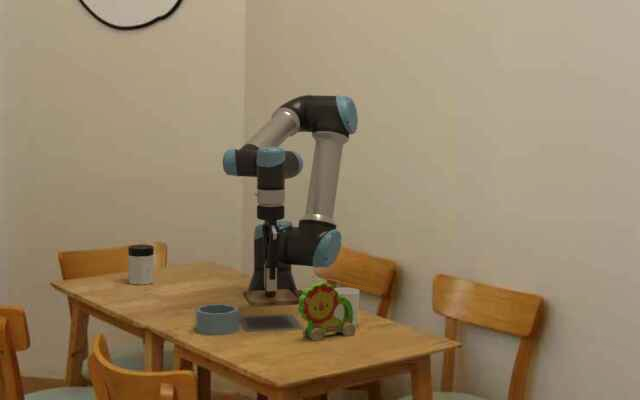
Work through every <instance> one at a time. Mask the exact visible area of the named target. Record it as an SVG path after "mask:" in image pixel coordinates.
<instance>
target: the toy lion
mask: <svg viewBox="0 0 640 400" xmlns="http://www.w3.org/2000/svg"><path fill="white" fill-rule="evenodd" d="M298 300H299V301H298V306H297V310H298V311H297V312H298V313H299V314H301V318H302V320H304V321H306V322H307V325H305V326H304V327H303V328H304V329H302V336H303V337H304V338H306V339H308V338H309V339H310V340H311V341H312V342H321V341H323V340H324V338H325V335H326V334H328V333H338V334H342V335H343V336H344V337H351V336H354V335H355V333H356V328H357V327H356V328H355V326H354V325H353V324H352V322H353V309H352V305H351V303H350V302H349V300H347V299H346V298H344V297H341V296H339V295H338V292H337V291H335V287H334V285H331V284H328V283H326V282H325V281H318V282H316V283H311V284H310V285H308V287H306V288H304V289H303V290H302V293H301V295H300V296H299V298H298ZM339 304H343V306H344V318H343V320H340V319H338V318H337V317H335V316H334V311H335V309H336V307H337V306H338V305H339Z"/></svg>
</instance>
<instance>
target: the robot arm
mask: <svg viewBox="0 0 640 400" xmlns="http://www.w3.org/2000/svg"><path fill="white" fill-rule="evenodd" d="M358 120H359V119H358V111H357V106H356V104H355V101H354V100H353V99H352V98H351V97H350V96H344V95H343V96H342V95H338V94H336V95H312V94H306V95H300V96H297V97H294V98H292V99H290V100H288V101H287V102H285V103H283V104H281V105H280V106H279V107H278V108H276V109H275V111H273V113H272V115H271V118H270V120H269V121H268V122H266V124H264V125H263V127H262V128H260V129H259V130H258V131H257V132H256V133H255V134H254V135H253V136H252V137H251V138H250V139H249V140H248V141H246V142H245V143H244V145H242V147H240V148H239V149H236V148H233V149H228V150H226V151H225V152H224V154H223V157H222V168H223V171H224V173H225V174H226V175H227V176H232V177H236V178H237V177H243V178H244V177H248V178H249V177H251V178H256V181H257V182H256V191H257V192H255V193H254V196H255V197H256V203H257V204H258V205H257V206H256V218H257V220H260V221H263V222H264V223H260V224H257V225H256V226H255V228H254V233H253V235H254V237H253V274H252V277H251V279H250V282H249V286H248V290H247V291H259V290H265V268H267V291H277V290H281V289H289V290H290V291H291V292H292V293H293V294H294V296H295V297H296V298H297V296H298V290H297V285H296V281H295V279H294V276H293V272H292V265H293V266H302V267H303V266H304V267H314V268H330V267H331V266H333V265H334V264H335V262H336V261H337V259H338V257H339V255H340V251H341V248H342V234H341V232H340V230H338V229H337V227H338V225H337V224H336V222H335V221H334V219H333V218H334V213H335V212H334V211H335V204H336V198H337V192H338V191H337V190H338V185H339V184H338V183H339V177H340V169H341V160H342V153H343V149H344V145H345V144H346V143H348V142H349V139H350V135H353V134H355V133H356V132H357V129H358V123H359V122H358ZM297 133H311V137H312V139H314V141H315V142H314V150H313V151H314V153H313V159H312V163H311V164H312V165H311V172H310V178H309V179H310V180H309V184H308V190H307V191H308V194H307V199H306V205H305V206H306V207H305V213H304V216H303V217H301V218H299V220H298V226H294V225H293V223H292V221H290V220H284V219H285V217H286V216H285V214H286V213H285V205H284V204H285V203H286V202H285V199H286V196H285V195H286V192H285V191H286V188H285V187H286V186H285V185H286V184H285V180H287V179H293V178H295V177H297V176H298V175H299V174H300V173H301V172H302V171H303V168H304V160H303V158H302V156H301V155H300V153H298V152H297V151H295V150H294V151H293V150H285V149H284V148H283V147H281V145H282V144H283V143H284V142H285V141H286V140H287V139H288V138H289V137H293V136H295V135H296V134H297ZM265 259H267V260H268V265H267V266H265Z"/></svg>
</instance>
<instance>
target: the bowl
mask: <svg viewBox="0 0 640 400" xmlns="http://www.w3.org/2000/svg"><path fill="white" fill-rule="evenodd" d="M239 317H240V311H239V308H238V307H237V306H236V305H231V304H224V303H218V304H217V303H215V304H214V303H212V304H209V303H208V304H205V305H201V306H198V307H195V331H196V332H197V333H198V334H203V335H208V336H218V335H219V336H221V335H230V334H233V333H236V332H238V331H239V330H240V329H239V328H240V327H239V326H240V322H239Z"/></svg>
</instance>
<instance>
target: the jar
mask: <svg viewBox="0 0 640 400" xmlns="http://www.w3.org/2000/svg"><path fill="white" fill-rule="evenodd" d="M154 247H155V246H153V245H151V244H133V245H132V244H131V245H129V246H128V247H127V248H128V250H127V251H128V252H127V253H128V284H129V283H135V284H147V283H152V282H154V283H155V271H154V270H155V267H154V266H155V265H154V264H155V262H154V261H155V260H154V257H155V256H154V254H155V253H154V252H155V251H154V250H155V249H154Z"/></svg>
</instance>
